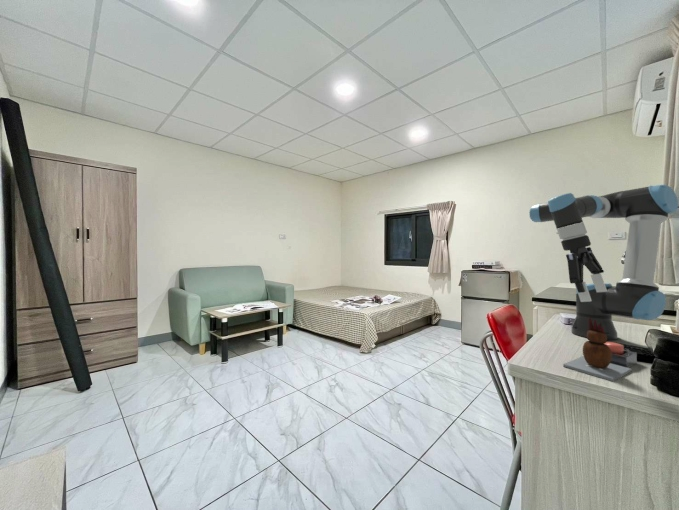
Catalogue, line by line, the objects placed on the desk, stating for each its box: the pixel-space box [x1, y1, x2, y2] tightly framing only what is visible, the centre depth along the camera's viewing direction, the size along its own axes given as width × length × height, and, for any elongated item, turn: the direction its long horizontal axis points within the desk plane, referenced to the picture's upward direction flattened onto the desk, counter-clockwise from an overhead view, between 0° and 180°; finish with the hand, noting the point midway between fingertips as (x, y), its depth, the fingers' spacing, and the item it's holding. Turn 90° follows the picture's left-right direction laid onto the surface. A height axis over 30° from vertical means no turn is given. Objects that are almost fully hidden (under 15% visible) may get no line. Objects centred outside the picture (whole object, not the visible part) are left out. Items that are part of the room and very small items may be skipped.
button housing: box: [610, 349, 638, 368], centre depth 94 cm, size 9×9×4 cm
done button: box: [604, 341, 625, 355], centre depth 94 cm, size 5×5×3 cm
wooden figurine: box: [582, 318, 612, 368], centre depth 88 cm, size 7×6×15 cm
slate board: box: [562, 355, 632, 382], centre depth 88 cm, size 14×12×1 cm
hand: (594, 296), depth 95 cm, fingers open, 13 cm apart
